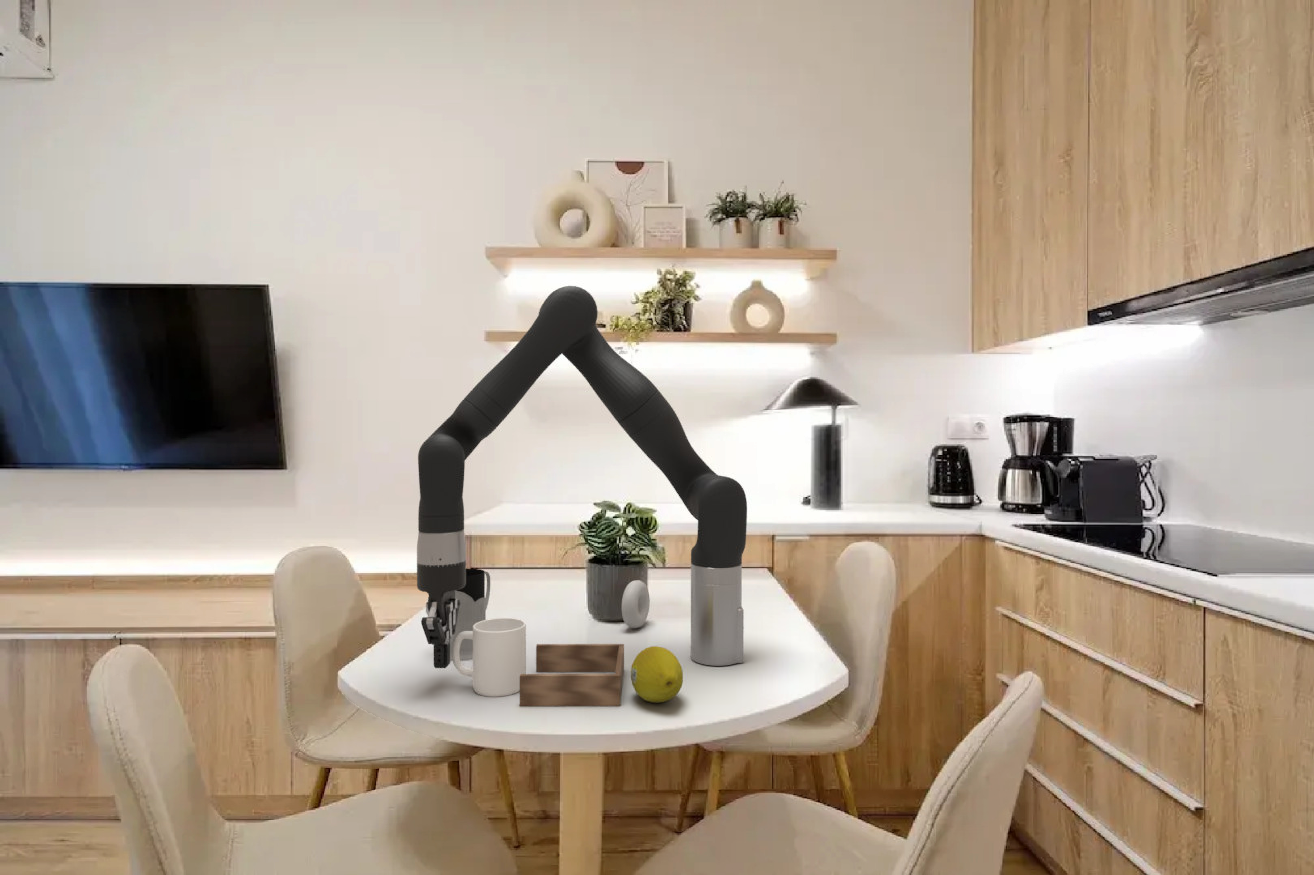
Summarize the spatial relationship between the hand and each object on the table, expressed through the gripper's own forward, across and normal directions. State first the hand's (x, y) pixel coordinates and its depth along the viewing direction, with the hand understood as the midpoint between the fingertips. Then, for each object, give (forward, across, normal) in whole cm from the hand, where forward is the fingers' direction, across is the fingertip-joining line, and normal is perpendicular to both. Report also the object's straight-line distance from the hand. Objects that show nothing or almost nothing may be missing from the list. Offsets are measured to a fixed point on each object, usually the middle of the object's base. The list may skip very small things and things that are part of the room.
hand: (442, 666), depth 109 cm
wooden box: (+3, 0, -21) cm, 22 cm away
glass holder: (+4, +20, +1) cm, 20 cm away
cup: (+4, 0, -7) cm, 8 cm away
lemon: (+4, -6, -34) cm, 35 cm away
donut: (+4, +34, -30) cm, 46 cm away
